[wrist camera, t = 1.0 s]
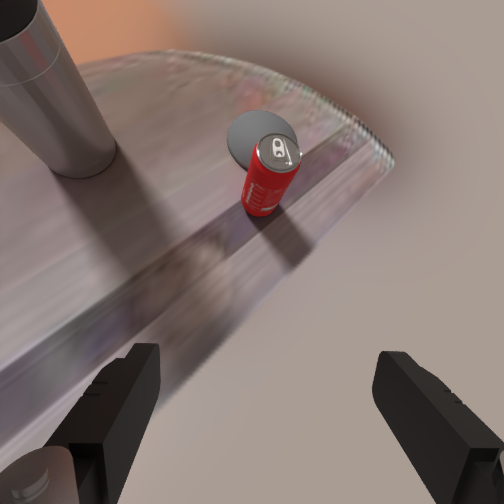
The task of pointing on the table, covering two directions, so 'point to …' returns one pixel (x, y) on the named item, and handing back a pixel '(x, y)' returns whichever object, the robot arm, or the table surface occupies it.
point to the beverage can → (270, 173)
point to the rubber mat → (253, 133)
